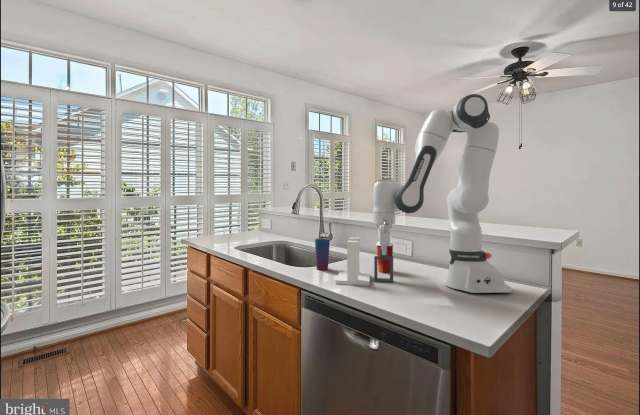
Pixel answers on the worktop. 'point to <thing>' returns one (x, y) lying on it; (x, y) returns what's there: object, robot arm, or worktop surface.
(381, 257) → the loop
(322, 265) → the cup
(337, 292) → the worktop surface
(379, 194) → the robot arm
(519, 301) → the worktop surface
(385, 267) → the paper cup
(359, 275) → the white post stand
